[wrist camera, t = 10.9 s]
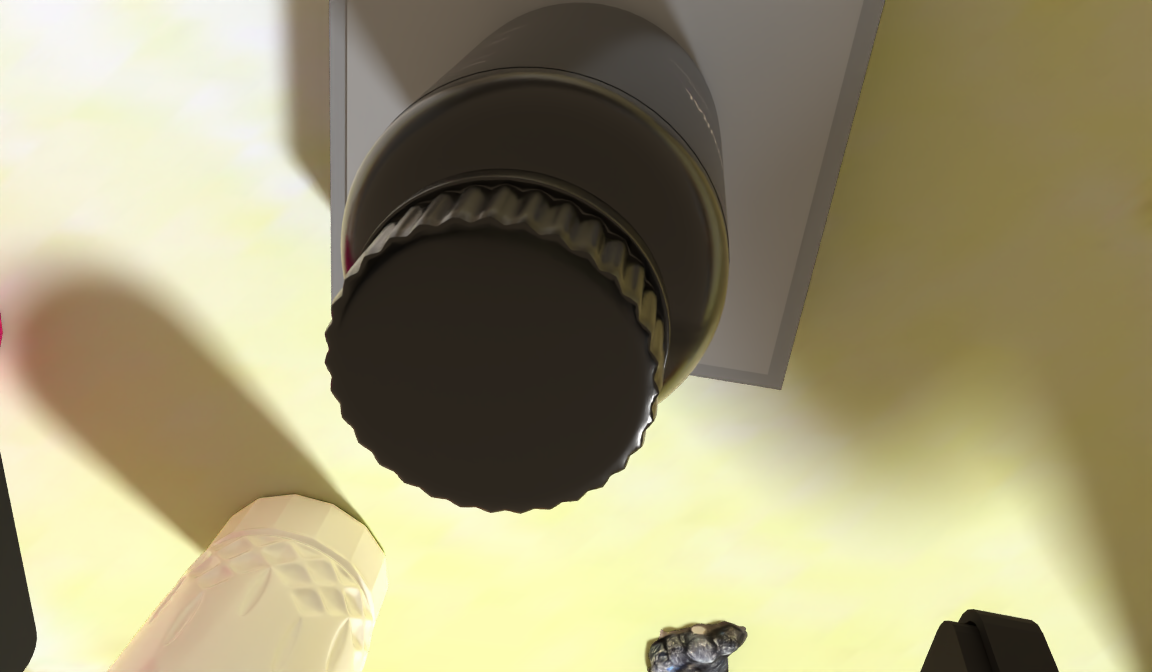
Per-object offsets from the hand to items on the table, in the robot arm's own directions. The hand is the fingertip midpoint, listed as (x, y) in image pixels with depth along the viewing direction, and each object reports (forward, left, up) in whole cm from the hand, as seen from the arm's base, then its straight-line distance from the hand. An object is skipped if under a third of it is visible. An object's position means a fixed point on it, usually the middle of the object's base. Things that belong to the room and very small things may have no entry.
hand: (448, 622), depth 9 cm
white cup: (+10, +20, -21) cm, 30 cm away
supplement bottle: (0, 0, -16) cm, 16 cm away
